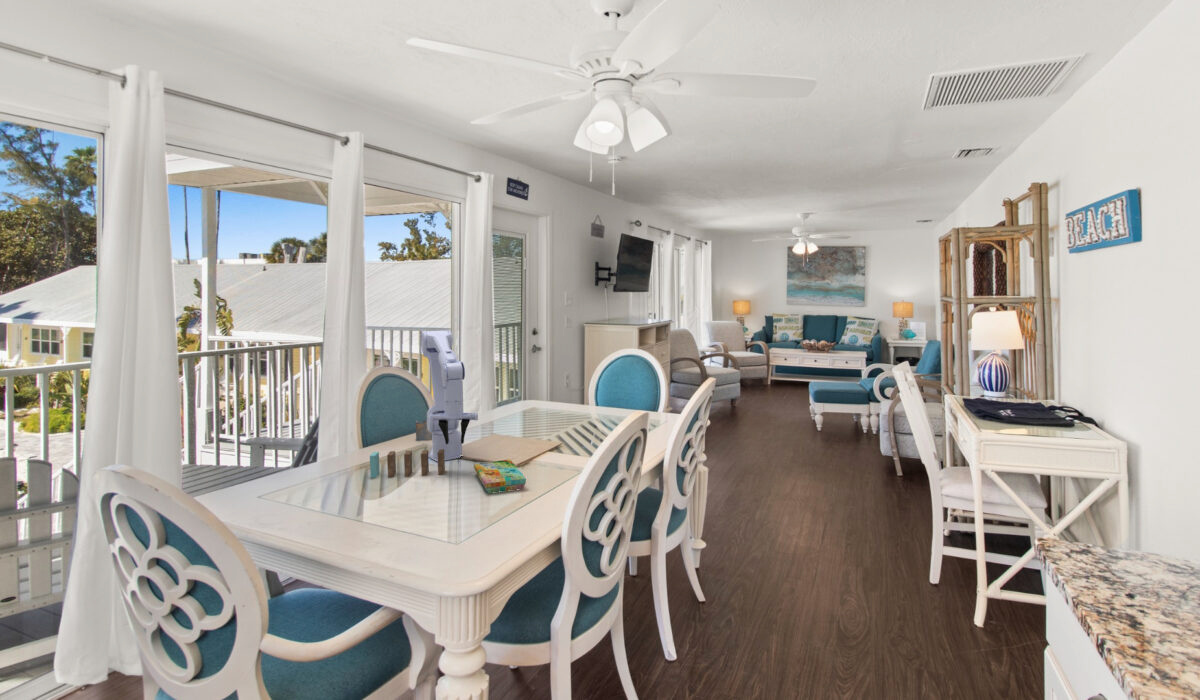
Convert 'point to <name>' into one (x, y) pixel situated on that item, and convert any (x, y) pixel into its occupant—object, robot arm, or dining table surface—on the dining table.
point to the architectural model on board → (422, 431)
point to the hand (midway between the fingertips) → (454, 443)
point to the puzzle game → (499, 476)
